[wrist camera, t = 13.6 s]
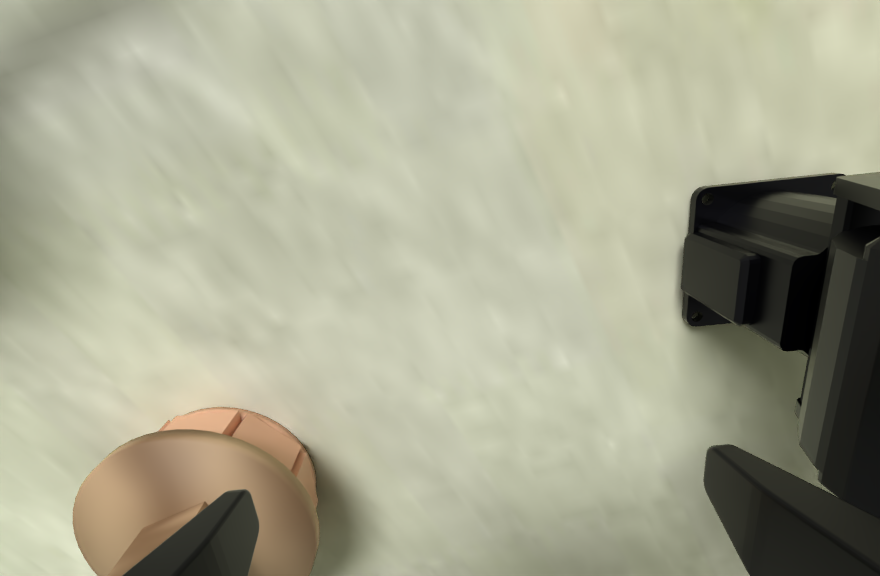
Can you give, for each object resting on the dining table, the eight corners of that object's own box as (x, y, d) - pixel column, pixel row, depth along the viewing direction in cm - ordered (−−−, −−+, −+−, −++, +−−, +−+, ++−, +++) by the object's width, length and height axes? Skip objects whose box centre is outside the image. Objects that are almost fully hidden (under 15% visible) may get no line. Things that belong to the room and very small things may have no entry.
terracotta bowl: (298, 399, 23) (277, 439, 20) (329, 533, 26) (315, 586, 23) (126, 415, 23) (80, 457, 20) (176, 547, 26) (143, 601, 23)
